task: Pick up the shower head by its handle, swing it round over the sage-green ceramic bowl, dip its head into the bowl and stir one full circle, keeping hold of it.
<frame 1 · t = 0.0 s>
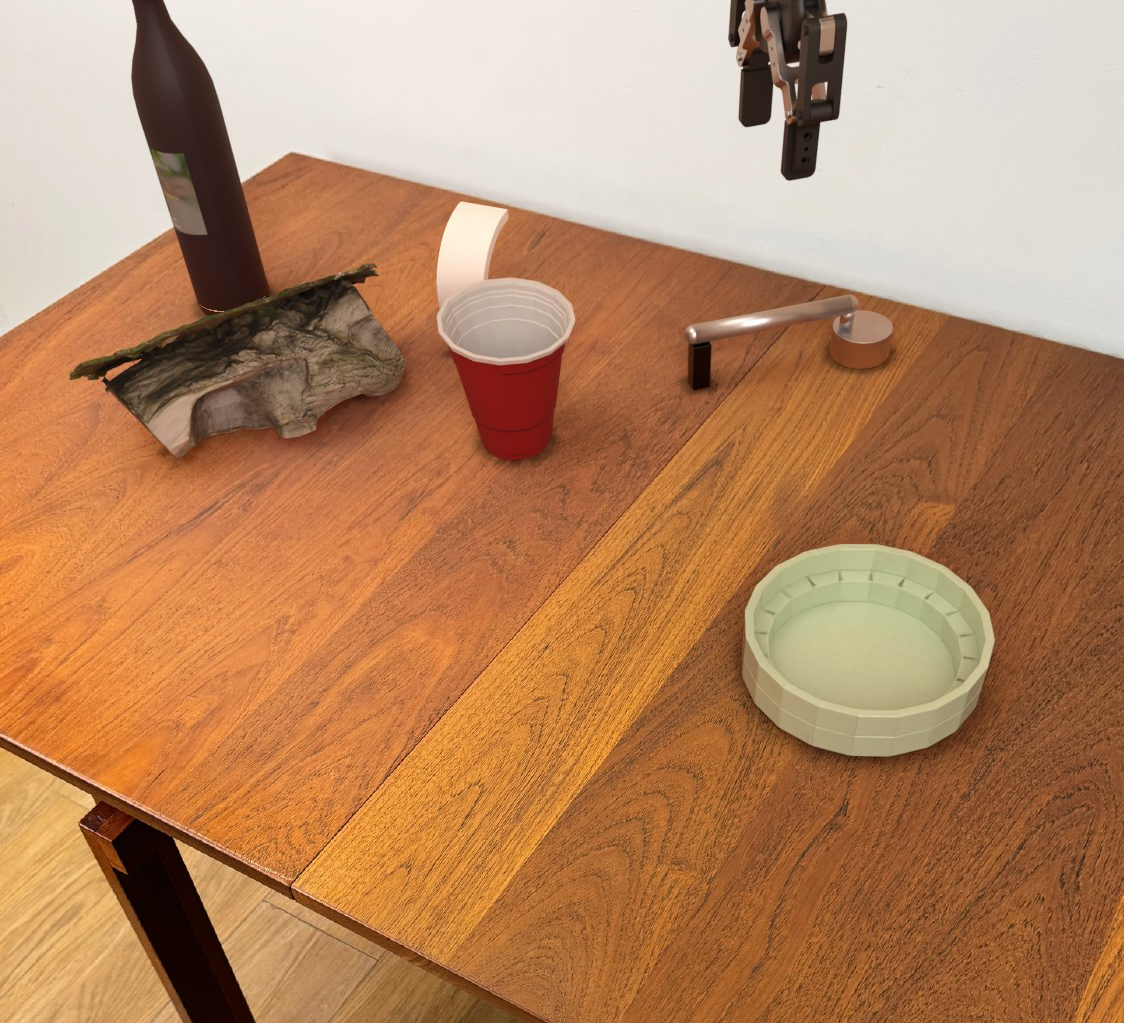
hand: (775, 149, 84), 23 cm above the table, tool pointing down, fingers open, 8 cm apart
mossy driftwood chunk: (262, 416, 108), on the table
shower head: (858, 352, 108), on the table
bowl: (858, 670, 84), on the table
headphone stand: (483, 348, 112), on the table
plastic cup: (518, 443, 103), on the table
wine bottle: (235, 303, 120), on the table
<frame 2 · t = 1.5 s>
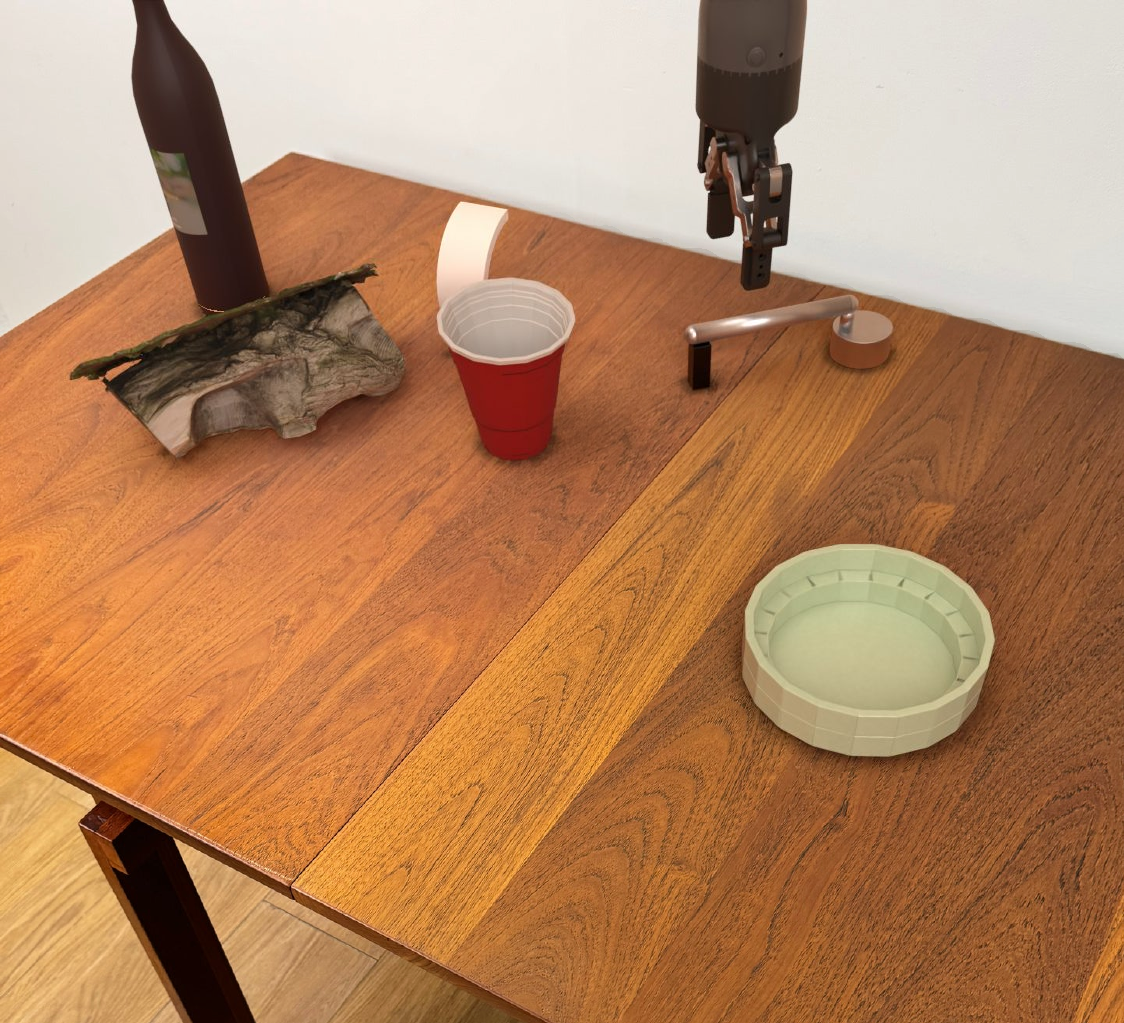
hand: (736, 260, 98), 11 cm above the table, tool pointing down, fingers open, 8 cm apart
nothing on the table moved.
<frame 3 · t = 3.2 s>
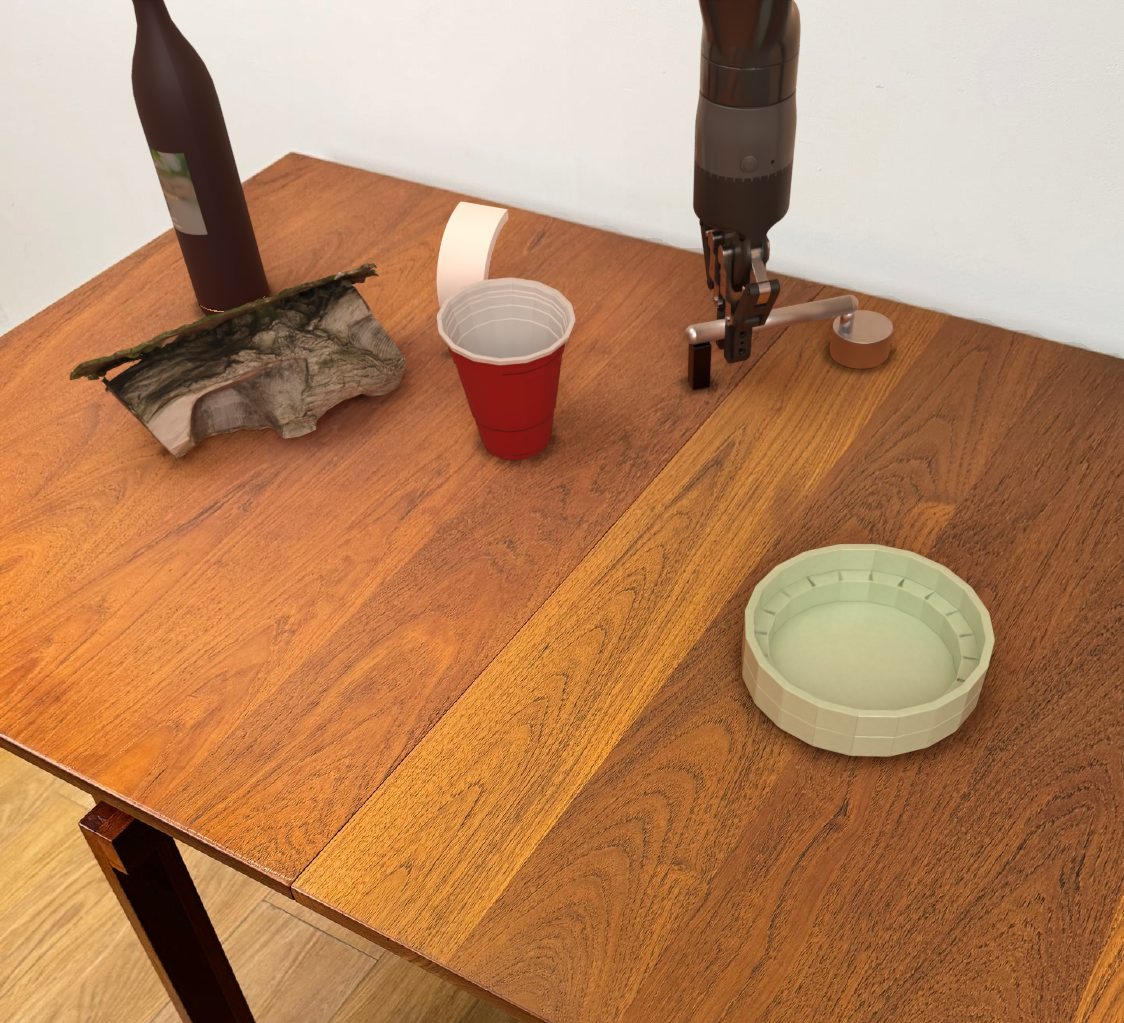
hand: (732, 352, 105), 3 cm above the table, tool pointing down, fingers closed on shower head
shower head: (858, 352, 108), on the table, touching gripper
everything else where it was.
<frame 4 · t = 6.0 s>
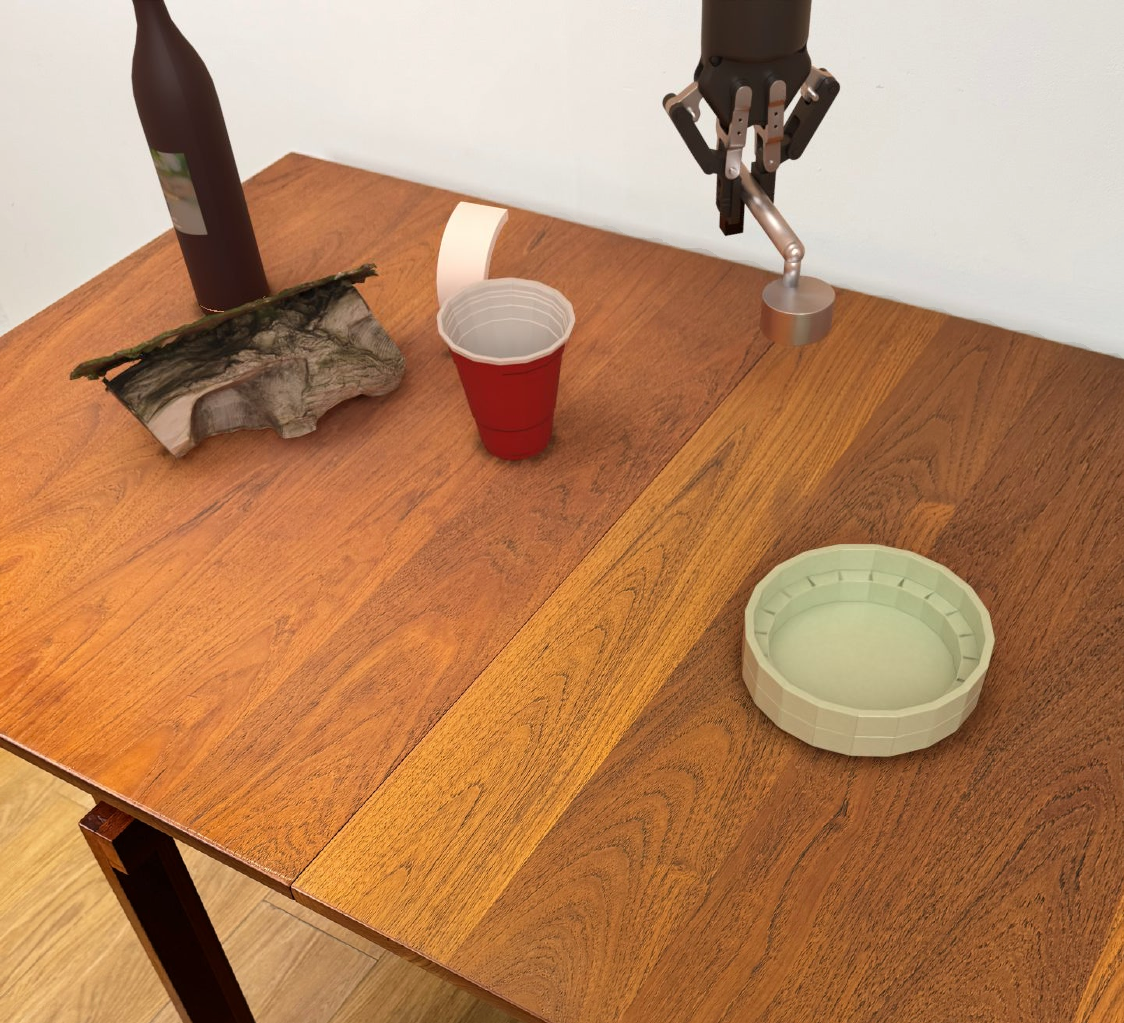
hand: (744, 216, 95), 15 cm above the table, tool pointing down, fingers closed on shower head
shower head: (795, 326, 89), point 12 cm above the table, touching gripper
everything else where it was.
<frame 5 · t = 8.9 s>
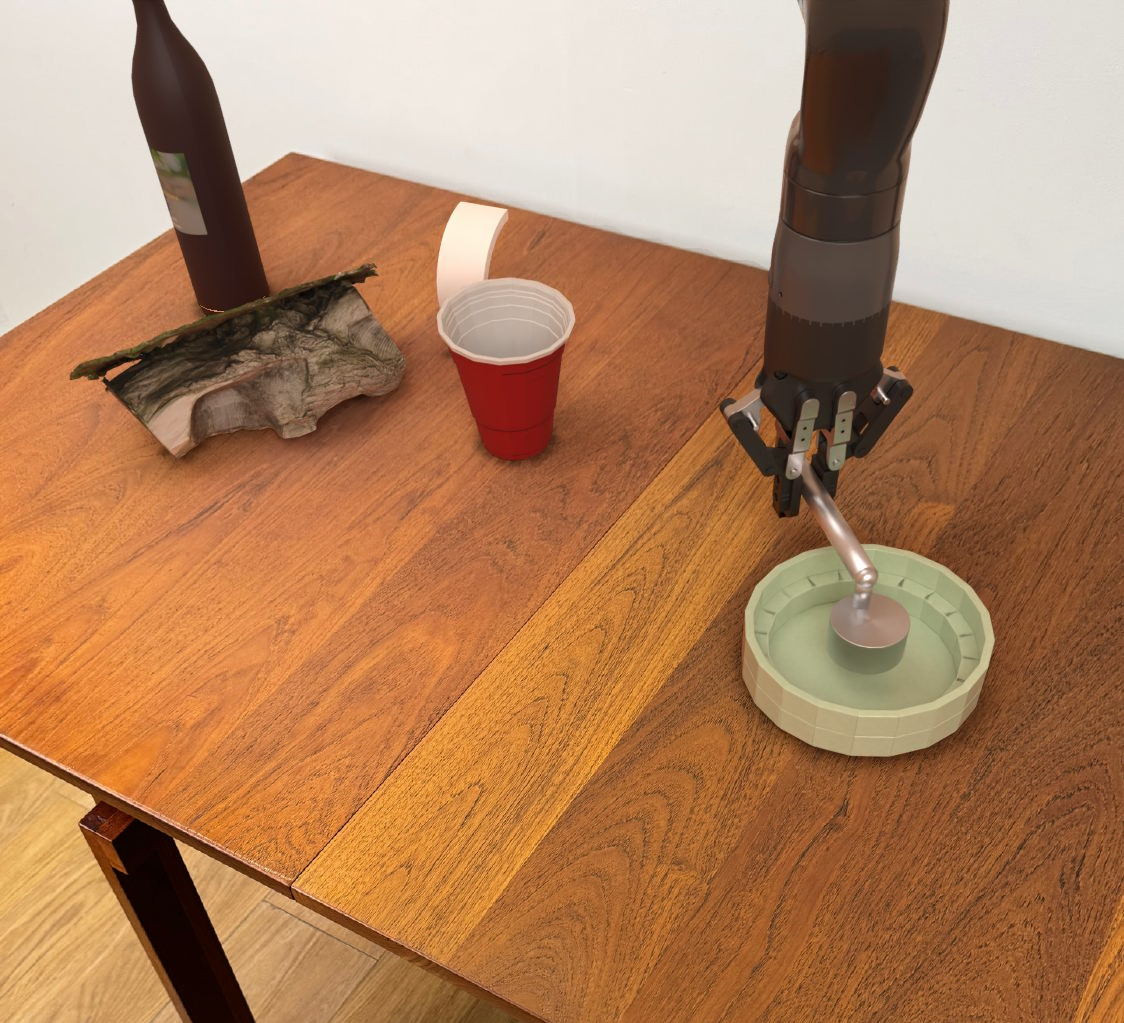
hand: (802, 506, 87), 5 cm above the table, tool pointing down, fingers closed on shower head
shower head: (864, 646, 82), point 3 cm above the table, touching gripper
everything else where it was.
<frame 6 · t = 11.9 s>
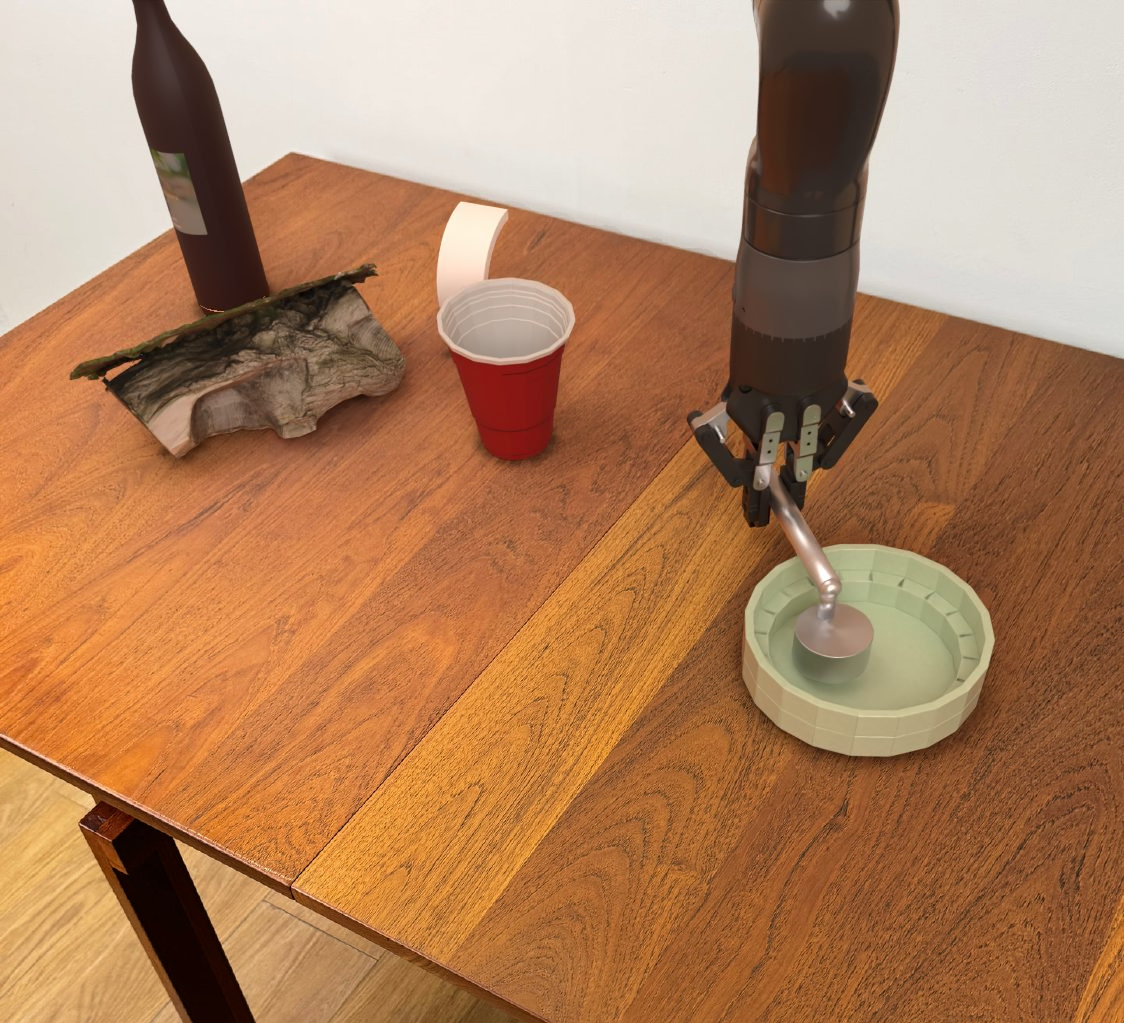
hand: (771, 516, 89), 4 cm above the table, tool pointing down, fingers closed on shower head
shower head: (829, 656, 83), point 2 cm above the table, touching gripper
everything else where it was.
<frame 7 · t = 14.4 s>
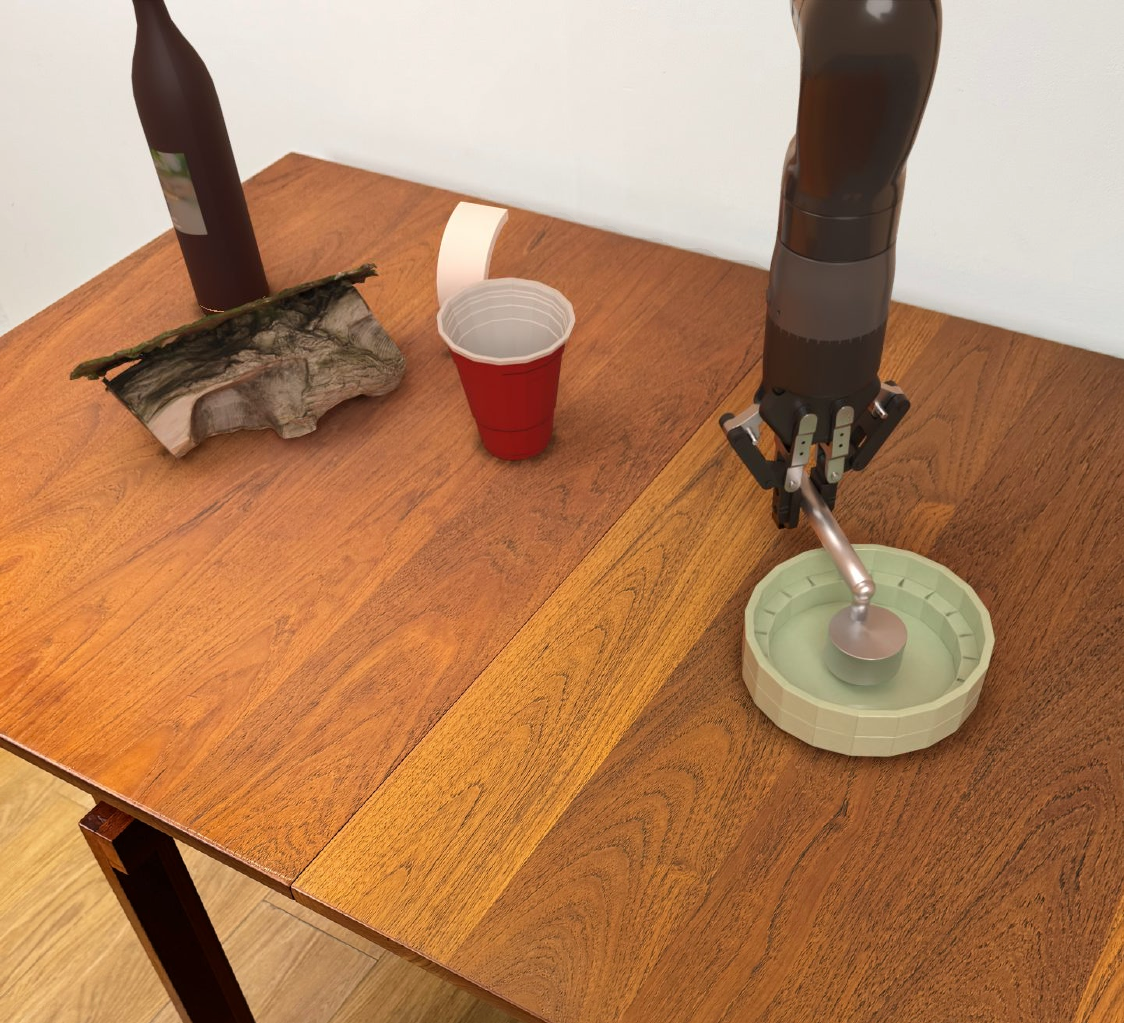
hand: (802, 518, 89), 4 cm above the table, tool pointing down, fingers closed on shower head
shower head: (862, 658, 83), point 1 cm above the table, touching gripper
everything else where it was.
at the end: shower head inside the target area in the bowl (0.2 cm from its centre), point 1.4 cm above the bowl's base; the gripper is holding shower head; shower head moved 39.2 cm from its start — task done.
